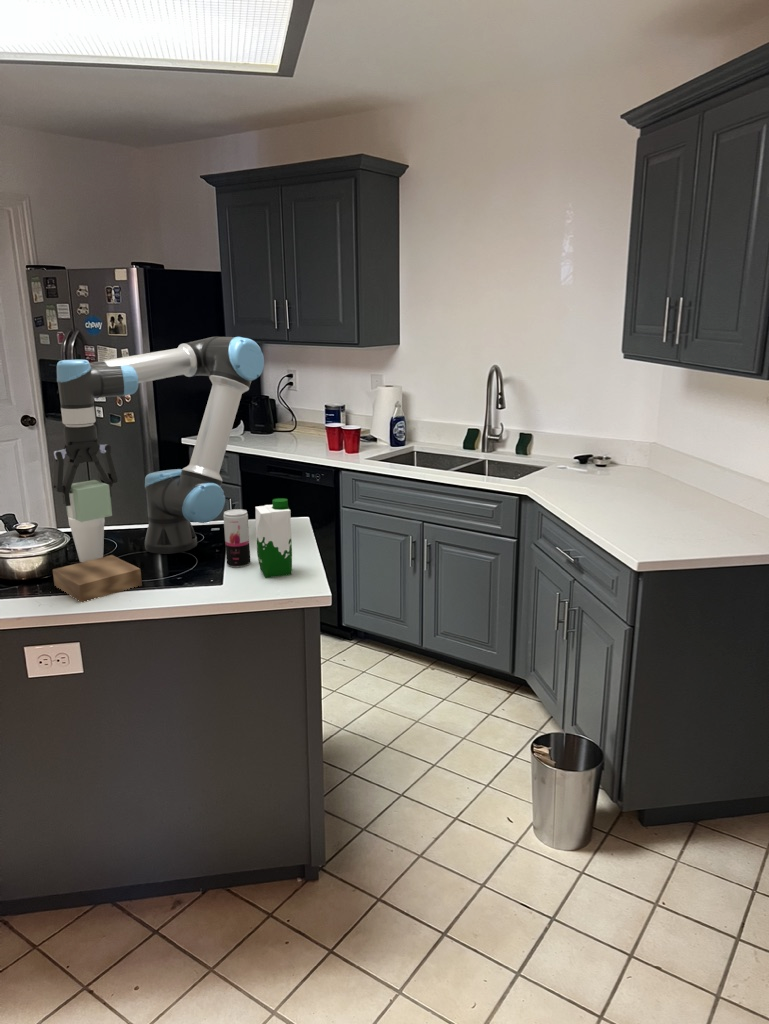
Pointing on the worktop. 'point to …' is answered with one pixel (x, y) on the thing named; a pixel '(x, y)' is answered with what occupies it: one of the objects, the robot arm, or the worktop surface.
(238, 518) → the beverage can
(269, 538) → the milk carton
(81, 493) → the sage cube
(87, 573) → the walnut block
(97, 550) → the foam cup
